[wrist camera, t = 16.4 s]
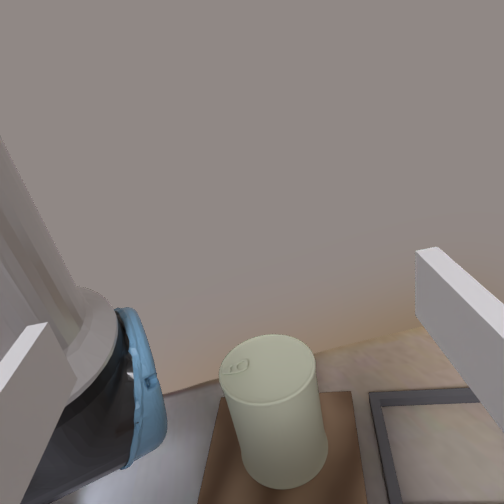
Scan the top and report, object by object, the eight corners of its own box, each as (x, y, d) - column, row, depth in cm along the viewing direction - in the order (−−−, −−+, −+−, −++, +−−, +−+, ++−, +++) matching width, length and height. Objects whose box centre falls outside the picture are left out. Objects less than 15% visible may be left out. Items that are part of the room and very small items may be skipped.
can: (242, 417, 46) (219, 337, 41) (320, 406, 45) (308, 323, 40) (241, 495, 38) (212, 408, 33) (336, 483, 37) (323, 392, 32)
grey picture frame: (394, 529, 34) (394, 521, 33) (369, 399, 46) (368, 392, 46) (577, 531, 31) (580, 522, 31) (499, 394, 44) (500, 386, 43)
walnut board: (197, 520, 38) (194, 514, 37) (222, 403, 50) (220, 397, 49) (369, 522, 35) (369, 515, 34) (351, 397, 47) (350, 391, 46)
